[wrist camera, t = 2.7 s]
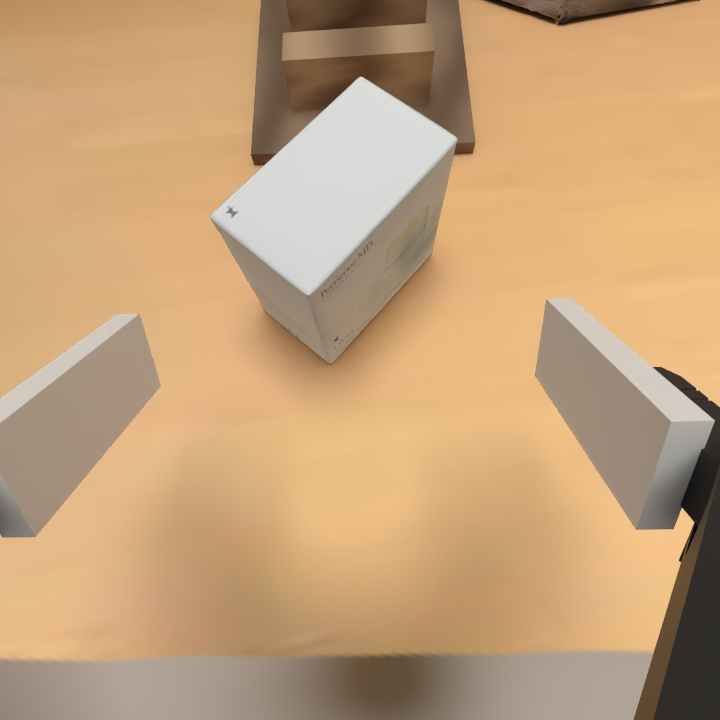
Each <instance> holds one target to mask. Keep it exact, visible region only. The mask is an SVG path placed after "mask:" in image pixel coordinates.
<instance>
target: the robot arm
mask: <svg viewBox="0 0 720 720" xmlns="http://www.w3.org/2000/svg"><path fill="white" fill-rule="evenodd" d="M535 376H536V378H537V379H538V381H539V382H540V384H541V385H542V387H543V388H544V390H545V391H546V393H547V395H548V396H549V398H550V399H551V401H552V402H553V404H554V405H555V407H556V408H557V410H558V411H559V413H560V414H561V416H562V417H563V419H564V420H565V422H566V423H567V425H568V427H569V428H570V430H571V431H572V433H573V434H574V436H575V437H576V439H577V440H578V442H579V443H580V445H581V446H582V448H583V449H584V451H585V452H586V454H587V456H588V457H589V459H590V460H591V462H592V463H593V465H594V466H595V468H596V469H597V471H598V472H599V474H600V475H601V477H602V478H603V480H604V481H605V483H606V485H607V486H608V488H609V489H610V491H611V492H612V494H613V495H614V497H615V498H616V500H617V501H618V503H619V504H620V506H621V507H622V509H623V510H624V512H625V514H626V515H627V517H628V518H629V520H630V521H631V523H632V524H633V526H634V527H635V529H636V530H639V529H674V526H675V524H676V521H677V519H678V516H679V513H680V511H681V508H683V509H684V510H685V511H686V512H687V514H688V515H689V516H690V517H691V519H692V520H693V521H694V525H693V527H692V530H691V532H690V535H689V537H688V540H687V542H686V544H685V547H684V549H683V552H682V554H681V557H680V559H679V561H681V564H680V568H679V571H678V574H677V578H676V581H675V584H674V588H673V591H672V594H671V598H670V601H669V604H668V608H667V611H666V614H665V618H664V621H663V624H662V628H661V631H660V634H659V637H658V641H657V644H656V647H655V651H654V654H653V657H652V661H651V664H650V667H649V671H648V674H647V678H646V681H645V684H644V687H643V691H642V694H641V697H640V701H639V704H638V707H637V711H636V714H635V717H634V720H720V407H719V406H717V405H716V404H715V403H714V402H712V401H708V398H707V397H706V396H705V395H704V394H702V393H701V392H700V391H696V388H695V387H694V386H692V385H691V384H690V383H689V382H687V381H686V380H685V379H684V378H682V377H681V376H679V375H677V374H675V373H672V372H670V371H668V370H666V369H664V368H662V367H652V366H650V365H649V364H648V363H647V362H646V361H645V360H643V359H642V358H641V357H640V356H639V355H637V354H636V353H635V352H634V351H633V350H632V349H630V348H629V347H628V346H627V345H626V344H625V343H623V342H622V341H621V340H620V339H619V338H618V337H616V336H615V335H614V334H613V333H612V332H611V331H609V330H608V329H607V328H606V327H605V326H603V325H602V324H601V323H600V322H599V321H598V320H596V319H595V318H594V317H593V316H592V315H591V314H589V313H588V312H587V311H586V310H585V309H584V308H582V307H581V306H580V305H579V304H578V303H577V302H575V301H574V300H573V299H572V298H556V299H546V305H545V311H544V318H543V325H542V331H541V338H540V345H539V351H538V358H537V365H536V371H535ZM160 386H161V385H160V382H159V378H158V375H157V371H156V368H155V365H154V361H153V358H152V354H151V351H150V348H149V344H148V341H147V337H146V334H145V331H144V327H143V324H142V320H141V317H140V314H117V315H115V316H114V317H113V318H111V319H110V320H108V321H107V322H106V323H104V324H103V325H102V326H100V327H99V328H97V329H96V330H95V331H93V332H92V333H90V334H89V335H88V336H86V337H85V338H83V339H82V340H81V341H79V342H78V343H77V344H75V345H74V346H72V347H71V348H70V349H68V350H67V351H65V352H64V353H63V354H61V355H60V356H58V357H57V358H56V359H54V360H53V361H52V362H50V363H49V364H47V365H46V366H45V367H43V368H42V369H40V370H39V371H38V372H36V373H35V374H33V375H32V376H31V377H29V378H28V379H26V380H25V381H24V382H22V383H21V384H20V385H18V386H17V387H15V388H14V389H13V390H11V391H10V392H8V393H7V394H6V395H4V396H3V397H1V398H0V534H1V536H2V537H36V536H37V534H38V533H39V532H40V531H41V529H42V528H43V527H44V526H45V525H46V523H47V522H48V521H49V520H50V519H51V517H52V516H53V515H54V514H55V513H56V511H57V510H58V509H59V508H60V507H61V505H62V504H63V503H64V502H65V501H66V499H67V498H68V497H69V496H70V495H71V493H72V492H73V491H74V490H75V489H76V487H77V486H78V485H79V484H80V483H81V481H82V480H83V479H84V478H85V477H86V475H87V474H88V473H89V472H90V471H91V469H92V468H93V467H94V466H95V465H96V463H97V462H98V461H99V460H100V459H101V457H102V456H103V455H104V454H105V452H106V451H107V450H108V449H109V448H110V446H111V445H112V444H113V443H114V442H115V440H116V439H117V438H118V437H119V436H120V434H121V433H122V432H123V431H124V430H125V428H126V427H127V426H128V425H129V424H130V422H131V421H132V420H133V419H134V418H135V416H136V415H137V414H138V413H139V412H140V410H141V409H142V408H143V407H144V406H145V404H146V403H147V402H148V401H149V400H150V398H151V397H152V396H153V395H154V394H155V392H156V391H157V390H158V389H159V388H160Z"/></svg>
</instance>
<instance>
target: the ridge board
mask: <svg viewBox="0 0 720 720" xmlns="http://www.w3.org/2000/svg"><path fill="white" fill-rule="evenodd" d="M359 77H363V78H365V79H366V80H368V81H370V82H371V83H373V84H374V85H376V86H378V87H379V88H381V89H382V90H384V91H386V92H387V93H389V94H390V95H392V96H393V97H395V98H397V99H398V100H400V101H401V102H403V103H405V104H406V105H408V106H409V107H411V108H412V109H414V110H416V111H417V112H419V113H420V114H422V115H423V116H425V117H427V118H428V119H430V120H431V121H433V122H435V123H436V124H438V125H439V126H441V127H442V128H444V129H445V130H447V131H448V132H450V133H451V134H453V135H454V136H455V137H457V140H458V141H457V143H456V148H455V152H454V154H459V153H473V149H474V145H475V136H474V128H473V119H472V111H471V103H470V95H469V86H468V78H467V70H466V62H465V53H464V45H463V37H462V29H461V20H460V12H459V4H458V0H261V10H260V25H259V40H258V55H257V71H256V86H255V101H254V116H253V132H252V147H251V156H252V159H253V161H254V164H255V165H258V164H266V163H267V162H268V161H270V160H271V159H272V158H273V157H274V156H275V155H276V154H277V153H278V152H279V151H280V150H281V149H282V148H284V147H285V146H286V145H287V144H288V143H289V142H290V141H291V140H292V139H293V138H294V137H295V136H297V135H298V134H299V133H300V132H301V131H302V130H303V129H304V128H305V127H306V126H307V125H308V124H309V123H310V122H311V121H313V120H314V119H315V118H316V117H317V116H318V115H319V114H320V113H321V112H322V111H323V110H324V109H325V108H327V107H328V106H329V105H330V104H331V103H332V102H333V101H334V100H335V99H336V98H337V97H339V96H340V95H341V94H342V93H343V92H344V91H345V90H346V89H347V88H348V87H349V86H350V85H351V84H352V83H353V82H354V81H355V80H356V79H358V78H359Z"/></svg>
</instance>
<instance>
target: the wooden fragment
mask: <svg viewBox="0 0 720 720" xmlns="http://www.w3.org/2000/svg"><path fill="white" fill-rule="evenodd" d="M503 1H506V2H508V3H511V4H513V5H516V6H520V7H523V8H527V9H529V10H530V11H532V10H533V11H537V12H539V13H541V14H543V15H546V16H550V17H552V18H553V19H555V20H557V18H558V16H559V14H560V15H561V17H560V18H559V20H557V21H558V22H560V23H564V22H567V21H570V20H572V19H574V18H575V17H583V16H589V15H594V14H600V13H607V12H611V11H617V10H624V9H629V8H636V7H642V6H647V5H654V4H659V3H661V4H662V3H665V2H672V1H676V0H503Z"/></svg>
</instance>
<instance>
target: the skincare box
mask: <svg viewBox="0 0 720 720" xmlns="http://www.w3.org/2000/svg"><path fill="white" fill-rule="evenodd" d="M457 141H458V140H457V137H455V136H454V135H453V134H451V133H450V132H448V131H447V130H445V129H444V128H442V127H441V126H439V125H438V124H436V123H435V122H433V121H431V120H430V119H428V118H427V117H425V116H423V115H422V114H420V113H419V112H417V111H416V110H414V109H412V108H411V107H409V106H408V105H406V104H405V103H403V102H401V101H400V100H398V99H397V98H395V97H393V96H392V95H390V94H389V93H387V92H386V91H384V90H382V89H381V88H379V87H378V86H376V85H374V84H373V83H371V82H370V81H368V80H366V79H365V78H363V77H359V78H358V79H356V80H355V81H354V82H353V83H352V84H351V85H350V86H349V87H348V88H347V89H346V90H345V91H344V92H343V93H342V94H341V95H340V96H339V97H337V98H336V99H335V100H334V101H333V102H332V103H331V104H330V105H329V106H328V107H327V108H325V109H324V110H323V111H322V112H321V113H320V114H319V115H318V116H317V117H316V118H315V119H314V120H313V121H311V122H310V123H309V124H308V125H307V126H306V127H305V128H304V129H303V130H302V131H301V132H300V133H299V134H298V135H297V136H295V137H294V138H293V139H292V140H291V141H290V142H289V143H288V144H287V145H286V146H285V147H284V148H282V149H281V150H280V151H279V152H278V153H277V154H276V155H275V156H274V157H273V158H272V159H271V160H270V161H268V162H267V163H266V164H265V165H264V166H263V167H262V168H261V169H260V170H259V171H258V172H257V173H255V174H254V175H253V176H252V177H251V178H250V179H249V180H248V181H247V182H246V183H245V184H244V185H243V186H241V187H240V188H239V189H238V190H237V191H236V192H235V193H234V194H233V195H232V196H231V197H230V198H228V199H227V200H226V201H225V202H224V203H223V204H222V205H221V206H220V207H219V208H217V209H216V210H215V211H214V212H213V213H212V214H211V215H210V218H211V220H212V222H213V223H214V225H215V227H216V228H217V230H218V231H219V232H220V233H221V235H222V237H223V239H224V241H225V242H226V244H227V246H228V248H229V249H230V251H231V253H232V255H233V256H234V258H235V260H236V262H237V263H238V265H239V267H240V268H241V270H242V272H243V273H244V275H245V277H246V279H247V280H248V282H249V284H250V285H251V287H252V289H253V291H254V292H255V294H256V296H257V297H258V299H259V301H260V303H261V305H262V307H263V309H264V310H265V311H266V312H267V313H268V314H269V315H270V316H272V317H273V318H274V319H275V320H276V321H278V322H279V323H280V324H281V325H282V326H284V327H285V328H286V329H287V330H288V331H290V332H291V333H292V334H293V335H294V336H296V337H297V338H298V339H299V340H300V341H302V342H303V343H304V344H305V345H306V346H308V347H309V348H310V349H311V350H312V351H314V352H315V353H316V354H317V355H319V356H320V357H321V358H322V359H324V360H325V361H326V362H327V363H329V364H332V363H333V362H334V361H335V360H336V359H337V358H338V357H339V356H340V355H341V354H342V353H343V352H344V350H345V349H346V348H347V347H348V346H349V345H350V344H351V343H352V342H353V340H354V339H355V338H356V337H357V336H358V335H359V334H360V333H361V332H362V330H363V329H364V328H365V327H366V326H367V325H368V324H369V323H370V322H371V321H372V319H373V318H374V317H375V316H376V315H377V314H378V313H379V312H380V311H381V310H382V308H383V307H384V306H385V305H386V304H387V303H388V302H389V301H390V300H391V298H392V297H393V296H394V295H395V294H396V293H397V292H398V291H399V290H400V289H401V287H402V286H403V285H404V284H405V283H406V282H407V281H408V280H409V279H410V278H411V276H412V275H413V274H414V273H415V272H416V271H417V270H418V269H419V268H420V267H421V265H422V264H423V263H424V262H425V261H426V260H427V259H428V258H429V257H430V256H431V254H432V249H433V245H434V240H435V236H436V231H437V227H438V222H439V218H440V213H441V209H442V205H443V200H444V196H445V192H446V187H447V183H448V178H449V174H450V170H451V165H452V161H453V157H454V152H455V148H456V143H457Z"/></svg>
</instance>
